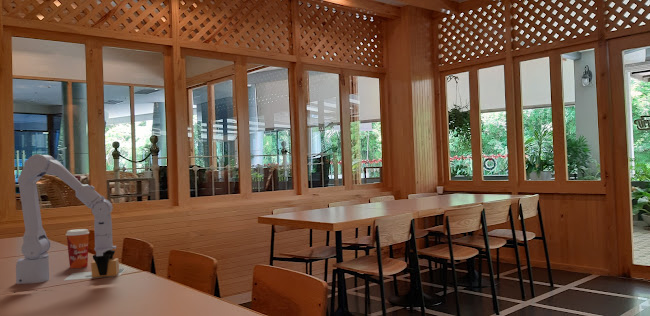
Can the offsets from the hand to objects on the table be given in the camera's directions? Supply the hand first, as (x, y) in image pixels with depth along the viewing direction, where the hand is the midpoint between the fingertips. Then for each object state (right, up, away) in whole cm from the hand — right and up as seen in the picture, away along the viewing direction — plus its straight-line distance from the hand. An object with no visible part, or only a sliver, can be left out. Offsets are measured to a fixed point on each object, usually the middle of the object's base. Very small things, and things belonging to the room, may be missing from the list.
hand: (104, 273), depth 179 cm
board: (-4, -2, +2) cm, 5 cm away
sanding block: (0, -1, 0) cm, 1 cm away
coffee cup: (-18, -3, +18) cm, 25 cm away
